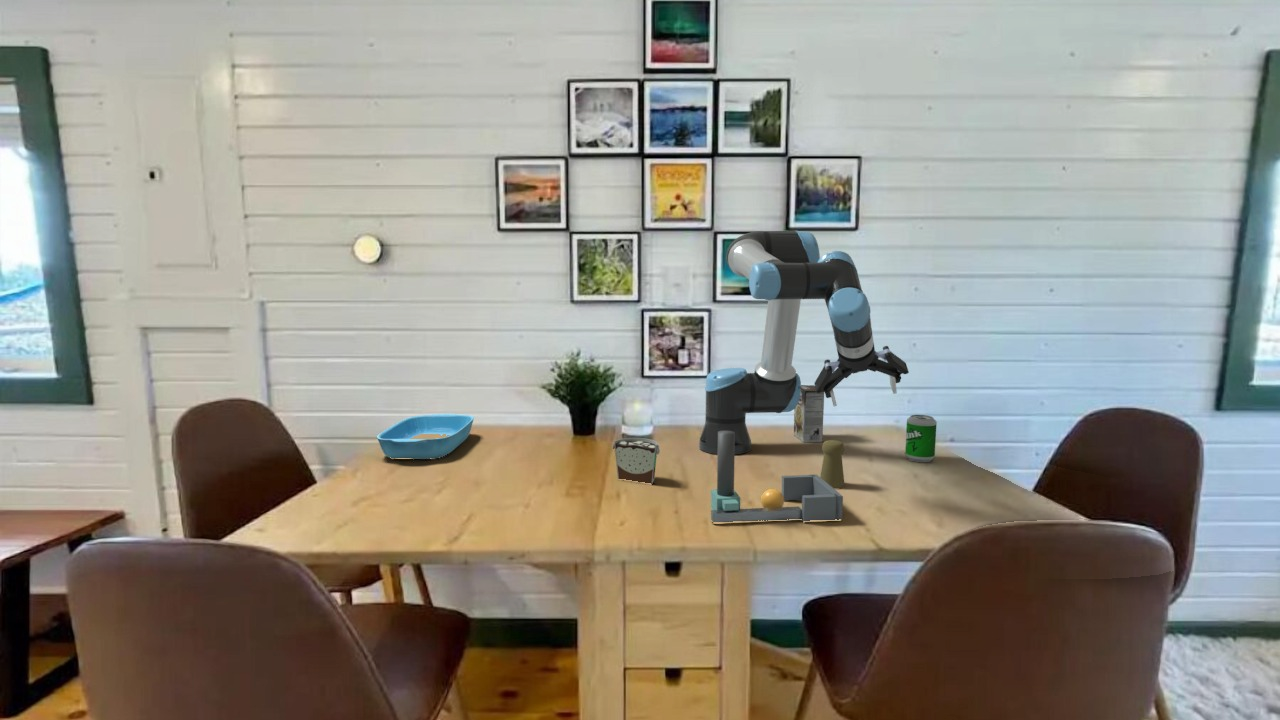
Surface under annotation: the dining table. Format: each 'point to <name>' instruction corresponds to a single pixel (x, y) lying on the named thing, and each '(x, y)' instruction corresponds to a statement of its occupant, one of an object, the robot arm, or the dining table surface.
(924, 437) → the soda can
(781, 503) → the ball
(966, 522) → the dining table surface
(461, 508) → the dining table surface
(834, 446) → the olive pawn figure
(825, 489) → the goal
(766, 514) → the rail
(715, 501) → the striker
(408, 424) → the casserole dish
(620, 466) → the food container
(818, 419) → the coffee box
